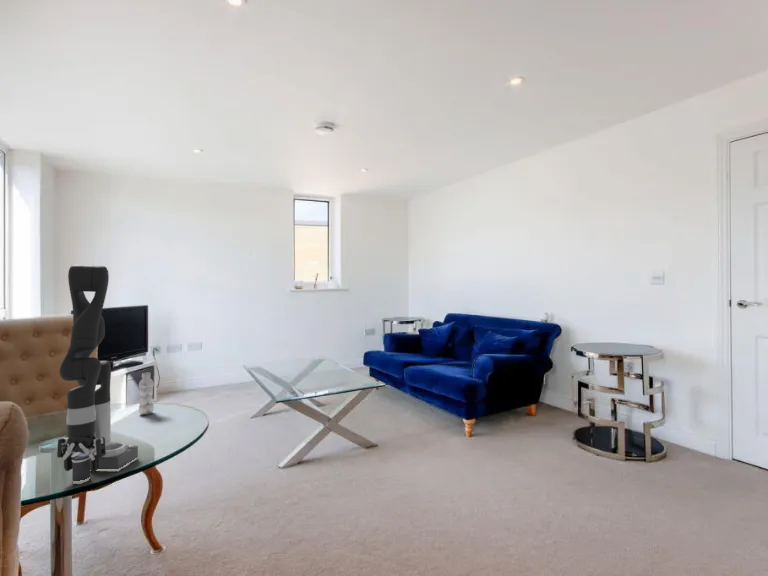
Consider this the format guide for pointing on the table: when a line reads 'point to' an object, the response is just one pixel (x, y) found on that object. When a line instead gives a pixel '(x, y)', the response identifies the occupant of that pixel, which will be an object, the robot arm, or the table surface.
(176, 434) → the table surface
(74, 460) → the lens
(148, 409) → the plastic bottle
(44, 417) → the table surface
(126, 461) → the camera body
